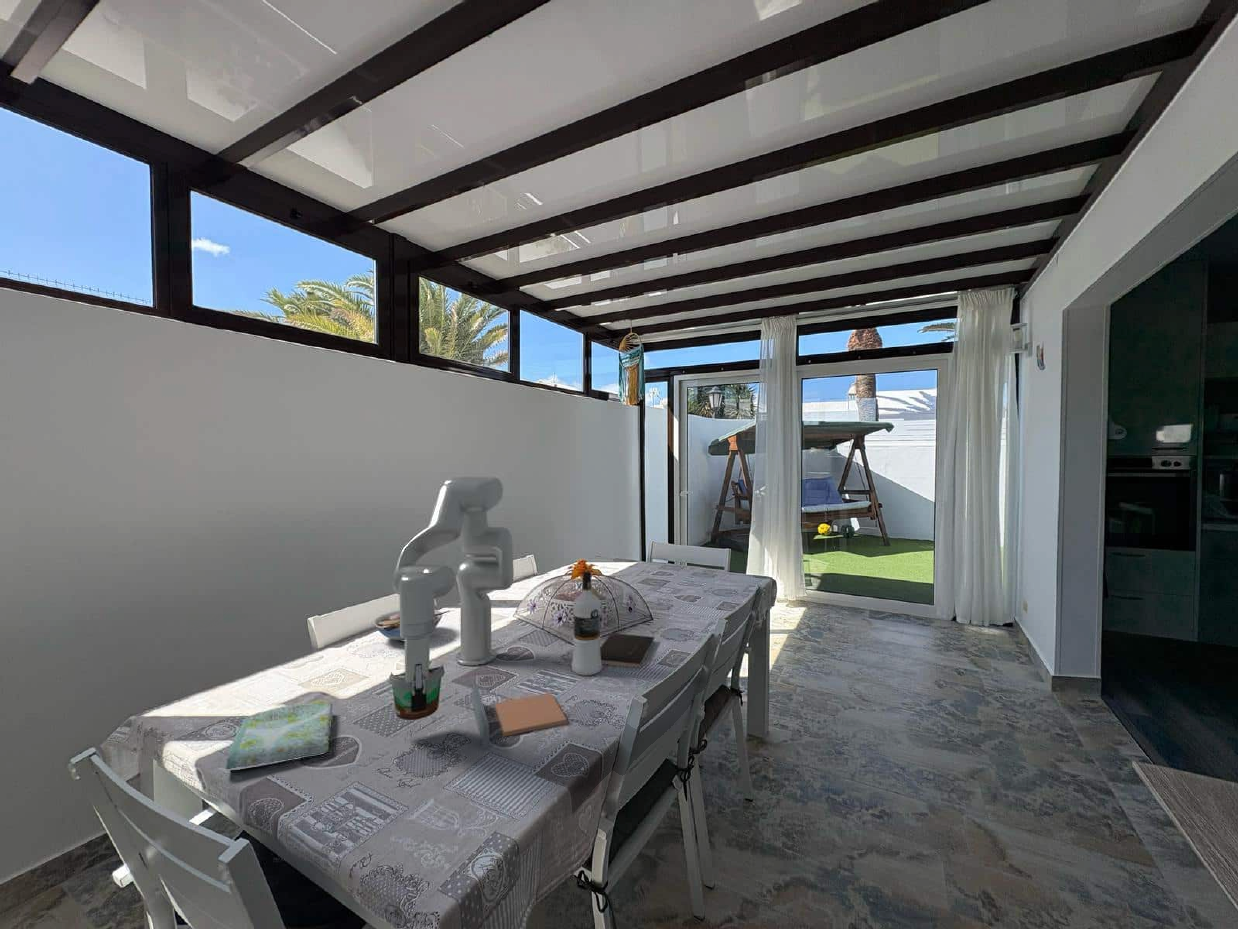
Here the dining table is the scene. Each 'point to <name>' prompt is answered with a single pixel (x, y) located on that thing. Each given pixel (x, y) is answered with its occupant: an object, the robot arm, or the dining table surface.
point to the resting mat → (529, 714)
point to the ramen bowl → (396, 624)
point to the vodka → (586, 631)
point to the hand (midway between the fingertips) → (418, 703)
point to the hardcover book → (625, 649)
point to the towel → (282, 734)
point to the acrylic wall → (480, 716)
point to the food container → (404, 692)
